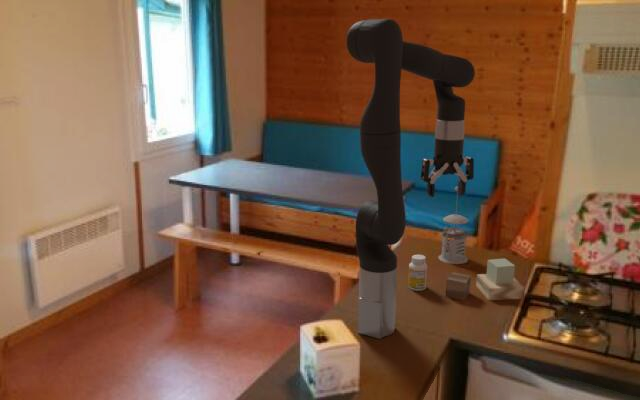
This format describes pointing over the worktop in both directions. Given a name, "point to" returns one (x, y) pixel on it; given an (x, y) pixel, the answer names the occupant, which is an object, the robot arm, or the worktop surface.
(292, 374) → the worktop surface
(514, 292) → the pine block
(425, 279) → the supplement bottle
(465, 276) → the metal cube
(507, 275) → the green cube
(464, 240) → the french press
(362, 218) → the robot arm
